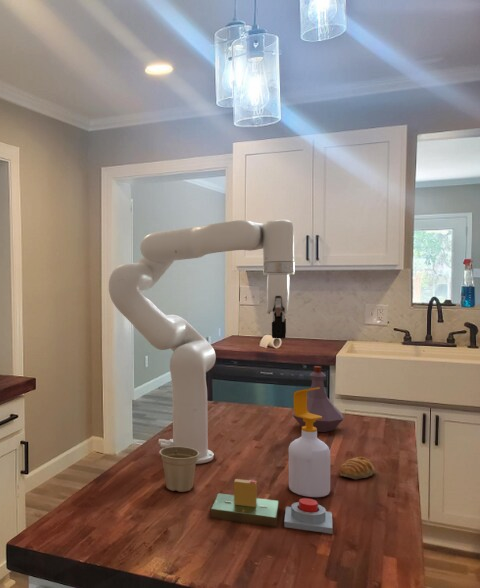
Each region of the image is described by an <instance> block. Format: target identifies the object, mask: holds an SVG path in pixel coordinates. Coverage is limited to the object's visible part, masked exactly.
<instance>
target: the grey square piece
mask: <svg viewBox="0 0 480 588" xmlns="http://www.w3.org/2000/svg"><path fill="white" fill-rule="evenodd" d="M283 519H284V520H283V527H284V528H287V529H294V530H295V529H296V530H301V531H310V532H316V533H323V534H329V535H333V530H334V528H333V513H332V512H331V511H327V510H326V508H325V507H324V506H323V505H320V504H318V511H317V512H305V511H302V510H300V509H299V501H297V502H293V503H292V504H291V506H285V513H284V518H283Z"/></svg>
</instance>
